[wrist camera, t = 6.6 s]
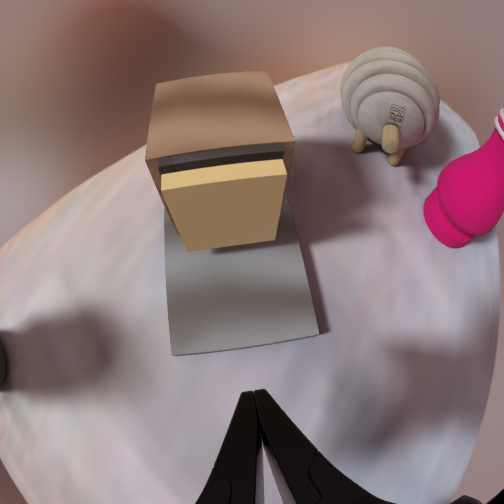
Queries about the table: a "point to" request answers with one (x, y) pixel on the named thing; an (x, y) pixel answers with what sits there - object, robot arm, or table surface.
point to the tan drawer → (226, 203)
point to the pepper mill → (469, 193)
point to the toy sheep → (389, 100)
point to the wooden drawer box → (239, 256)
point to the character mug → (2, 365)
